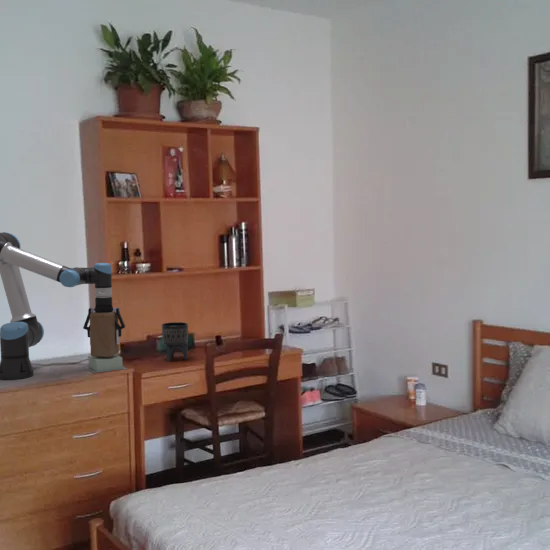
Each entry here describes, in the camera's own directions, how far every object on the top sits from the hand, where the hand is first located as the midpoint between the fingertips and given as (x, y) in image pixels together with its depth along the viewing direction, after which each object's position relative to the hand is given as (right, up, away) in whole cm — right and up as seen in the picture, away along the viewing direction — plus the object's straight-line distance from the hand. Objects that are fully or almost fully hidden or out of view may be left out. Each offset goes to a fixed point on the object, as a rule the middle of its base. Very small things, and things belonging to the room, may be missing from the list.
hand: (104, 344), depth 310 cm
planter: (+29, -10, +24) cm, 39 cm away
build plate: (0, -12, +1) cm, 12 cm away
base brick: (0, -11, +1) cm, 11 cm away
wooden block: (0, -5, 0) cm, 5 cm away
